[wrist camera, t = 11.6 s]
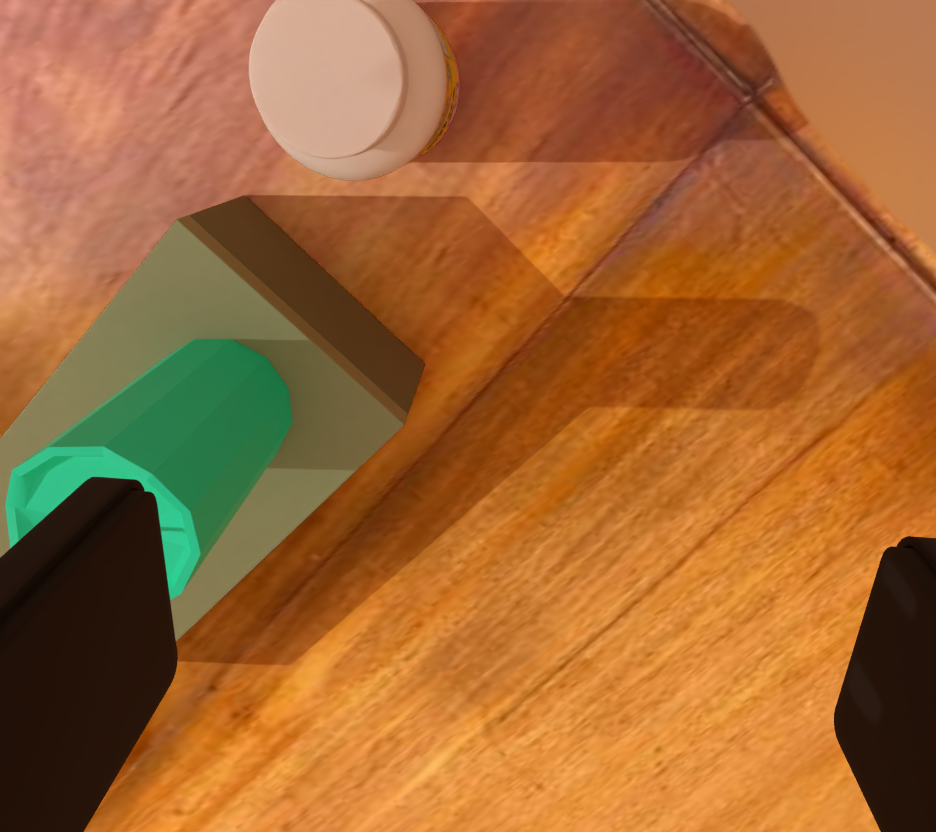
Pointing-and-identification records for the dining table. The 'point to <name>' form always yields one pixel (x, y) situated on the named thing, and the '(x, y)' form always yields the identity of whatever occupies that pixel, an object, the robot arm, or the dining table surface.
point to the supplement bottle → (353, 83)
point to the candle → (169, 448)
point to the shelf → (262, 330)
